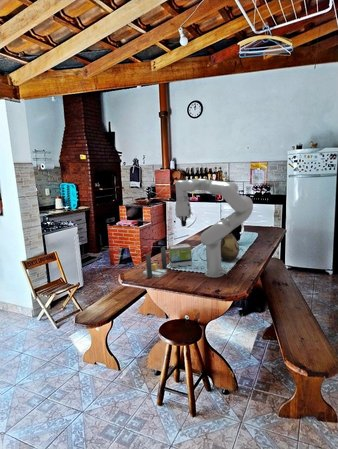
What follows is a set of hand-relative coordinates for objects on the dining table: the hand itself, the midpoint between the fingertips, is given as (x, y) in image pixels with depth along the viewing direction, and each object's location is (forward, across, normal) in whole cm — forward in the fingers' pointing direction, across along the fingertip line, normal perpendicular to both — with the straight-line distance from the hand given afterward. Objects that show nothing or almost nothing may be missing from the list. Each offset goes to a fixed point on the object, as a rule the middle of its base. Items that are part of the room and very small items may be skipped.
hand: (183, 226), depth 206 cm
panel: (+32, +18, +13) cm, 39 cm away
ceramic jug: (+32, -17, -34) cm, 50 cm away
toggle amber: (+30, +19, +11) cm, 37 cm away
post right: (+32, +17, +2) cm, 36 cm away
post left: (+32, +17, +20) cm, 41 cm away
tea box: (+32, +11, -10) cm, 36 cm away
